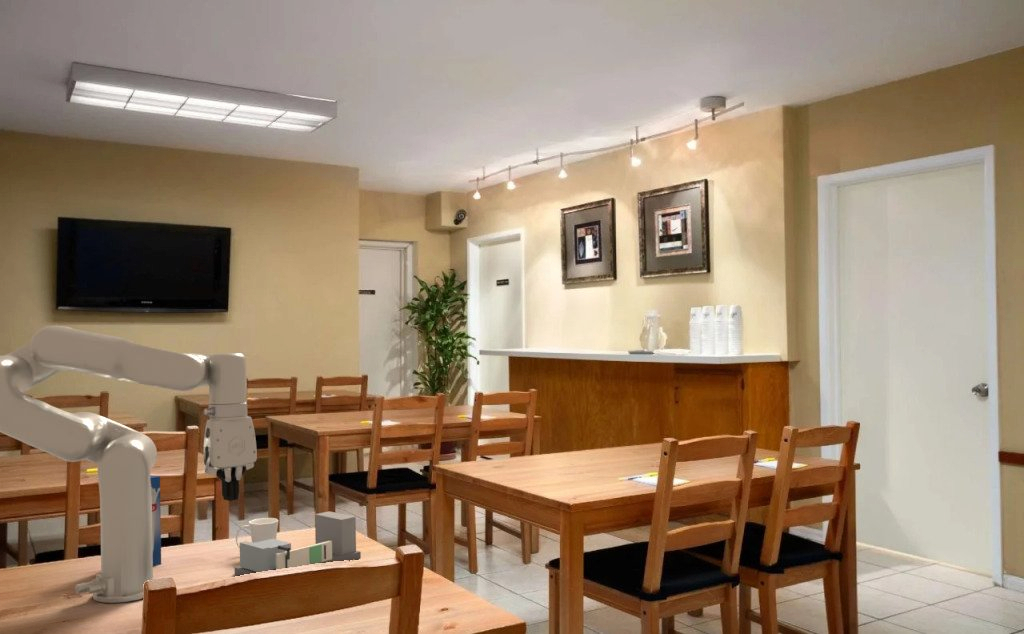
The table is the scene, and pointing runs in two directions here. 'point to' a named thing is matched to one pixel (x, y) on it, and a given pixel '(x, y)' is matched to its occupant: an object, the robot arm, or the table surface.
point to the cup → (261, 529)
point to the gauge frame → (322, 543)
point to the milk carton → (156, 519)
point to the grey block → (262, 554)
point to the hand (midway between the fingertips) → (230, 499)
